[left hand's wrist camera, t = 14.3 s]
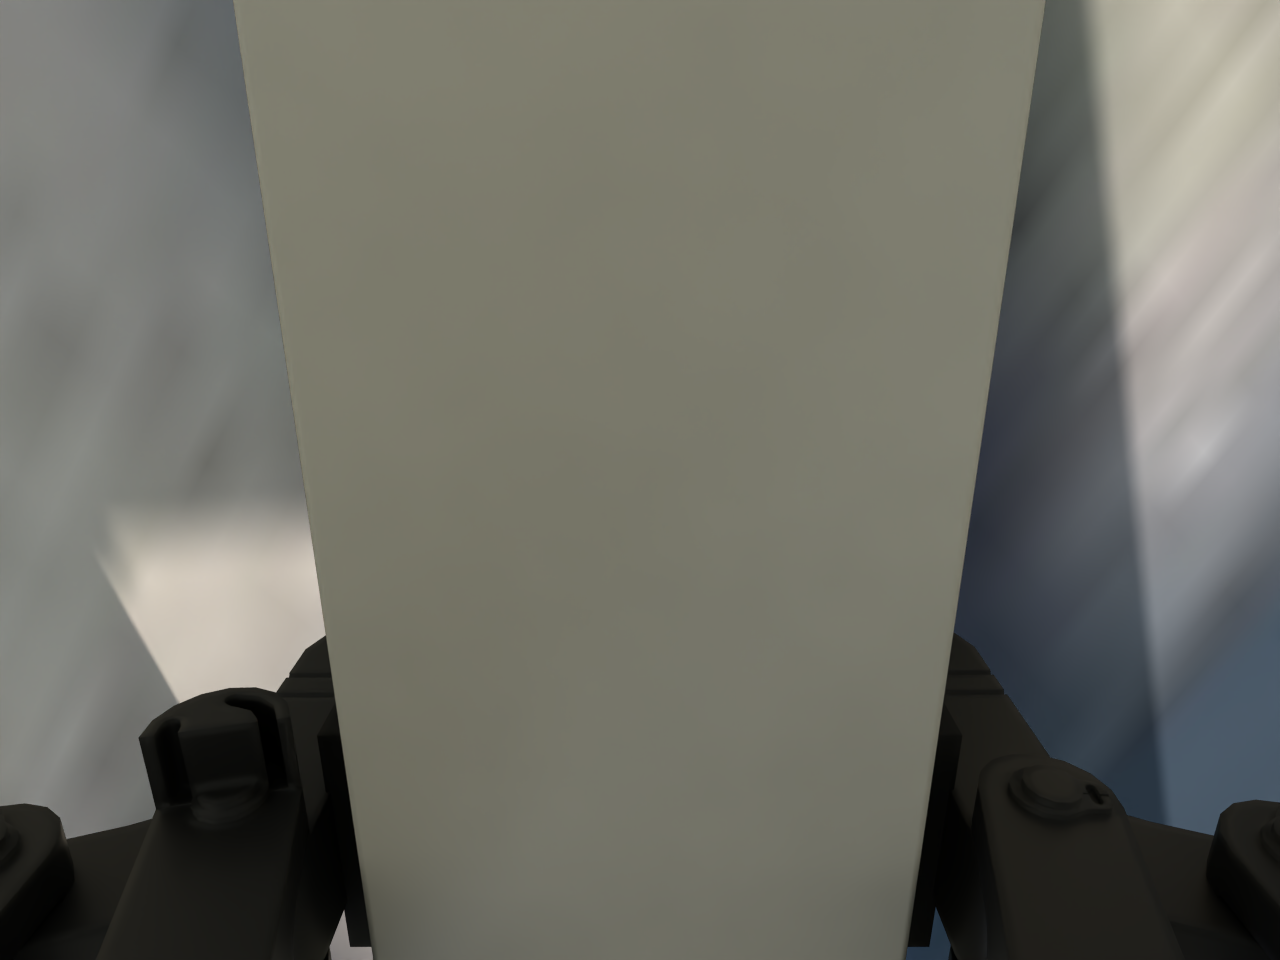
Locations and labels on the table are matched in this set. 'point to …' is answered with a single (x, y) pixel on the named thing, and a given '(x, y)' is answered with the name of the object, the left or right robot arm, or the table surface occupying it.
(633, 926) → the post
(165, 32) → the table surface
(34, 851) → the left robot arm
